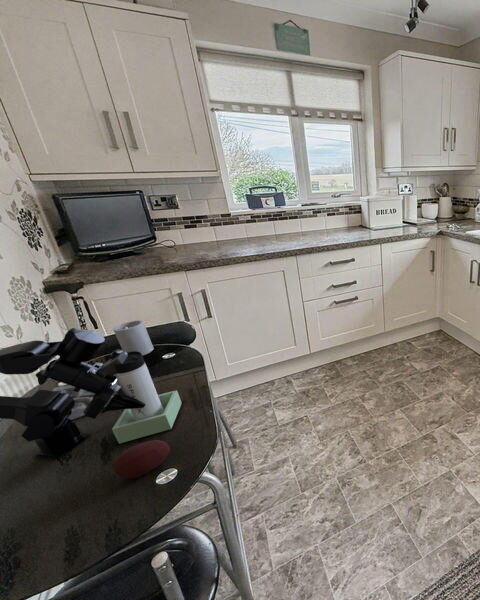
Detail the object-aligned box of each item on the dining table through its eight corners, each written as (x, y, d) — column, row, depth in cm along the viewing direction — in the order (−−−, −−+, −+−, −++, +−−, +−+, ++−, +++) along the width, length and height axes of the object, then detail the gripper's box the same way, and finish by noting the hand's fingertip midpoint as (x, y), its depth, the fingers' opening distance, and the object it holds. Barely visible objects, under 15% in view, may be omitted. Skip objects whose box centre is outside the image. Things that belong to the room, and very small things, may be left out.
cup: (140, 358, 125) (128, 330, 121) (119, 358, 126) (107, 330, 122) (159, 346, 134) (148, 319, 129) (139, 347, 135) (128, 320, 130)
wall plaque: (128, 398, 101) (124, 387, 99) (42, 431, 89) (35, 420, 88) (124, 370, 117) (119, 360, 116) (50, 395, 106) (45, 385, 104)
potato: (121, 470, 74) (110, 449, 72) (173, 447, 79) (164, 427, 77) (118, 493, 68) (106, 471, 66) (174, 466, 74) (165, 445, 71)
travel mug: (154, 410, 93) (129, 348, 86) (170, 414, 90) (146, 351, 83) (131, 425, 87) (102, 360, 80) (147, 430, 85) (119, 363, 78)
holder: (118, 443, 82) (111, 429, 80) (135, 415, 92) (129, 402, 91) (171, 429, 86) (165, 414, 84) (181, 403, 96) (176, 390, 94)
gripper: (79, 367, 71) (155, 394, 78) (115, 333, 87) (175, 358, 95) (50, 407, 71) (128, 431, 79) (91, 365, 88) (153, 388, 95)
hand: (148, 398), depth 87 cm, fingers closed on travel mug, 6 cm apart
